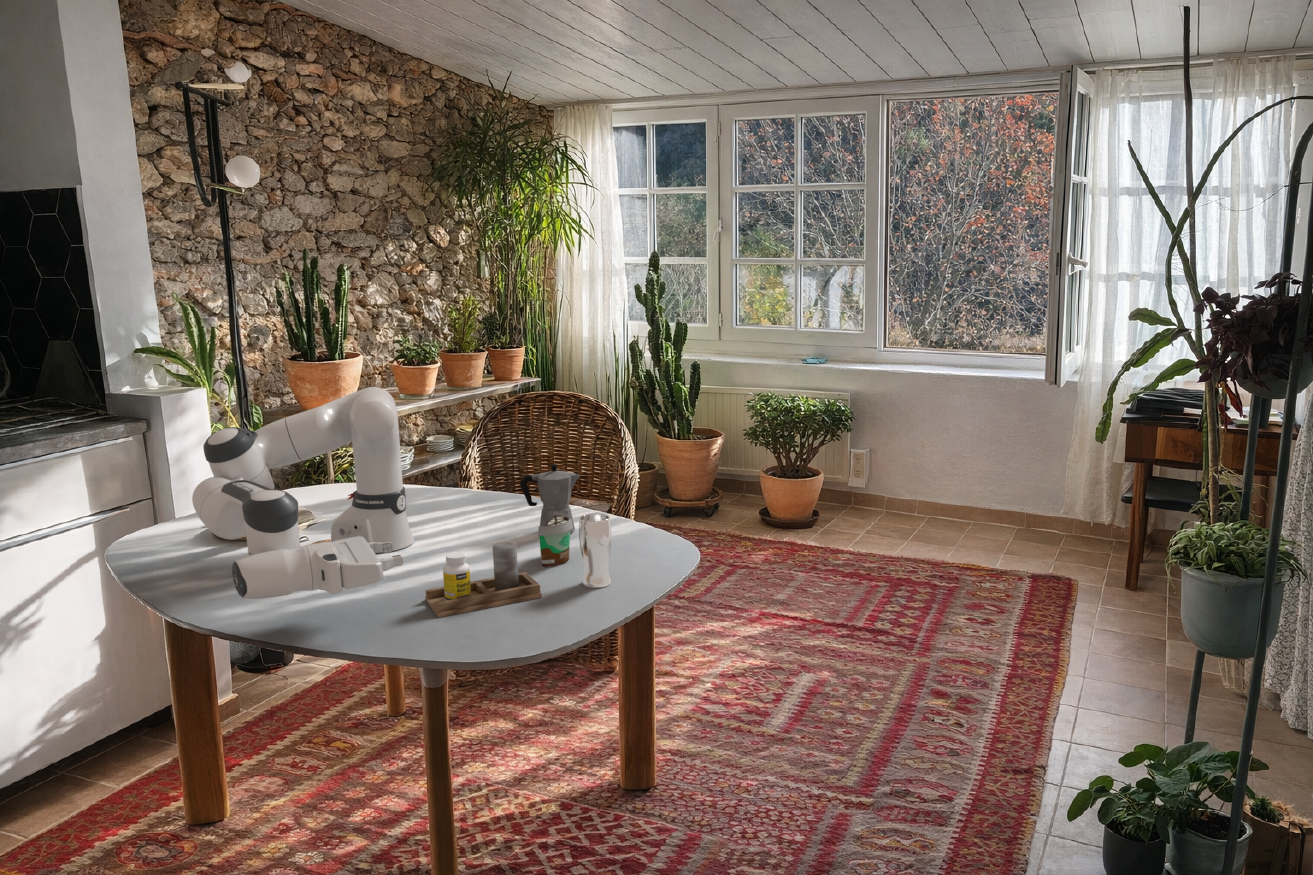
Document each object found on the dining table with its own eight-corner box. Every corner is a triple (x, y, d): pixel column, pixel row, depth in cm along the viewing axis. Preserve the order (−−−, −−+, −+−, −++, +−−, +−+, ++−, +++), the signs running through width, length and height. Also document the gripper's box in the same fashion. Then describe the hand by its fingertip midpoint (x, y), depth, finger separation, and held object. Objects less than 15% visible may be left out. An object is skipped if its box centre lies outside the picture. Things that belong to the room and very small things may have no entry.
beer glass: (588, 591, 205) (586, 523, 202) (576, 581, 211) (573, 515, 208) (618, 585, 208) (616, 518, 205) (604, 575, 214) (602, 511, 211)
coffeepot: (579, 524, 253) (577, 458, 250) (585, 534, 244) (582, 466, 241) (521, 529, 250) (517, 462, 246) (524, 540, 241) (520, 470, 237)
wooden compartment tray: (438, 617, 192) (434, 566, 190) (425, 599, 202) (421, 551, 200) (541, 597, 202) (539, 548, 200) (524, 581, 212) (522, 534, 210)
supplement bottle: (458, 606, 196) (455, 560, 194) (439, 601, 199) (436, 556, 197) (477, 597, 200) (474, 553, 198) (458, 593, 203) (455, 549, 201)
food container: (565, 570, 219) (563, 528, 217) (539, 568, 220) (537, 526, 218) (580, 552, 230) (578, 512, 228) (555, 551, 232) (554, 511, 230)
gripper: (318, 564, 195) (387, 553, 201) (334, 597, 177) (409, 583, 183) (315, 535, 194) (385, 524, 200) (331, 564, 176) (407, 552, 182)
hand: (397, 553), depth 191 cm, fingers open, 8 cm apart
